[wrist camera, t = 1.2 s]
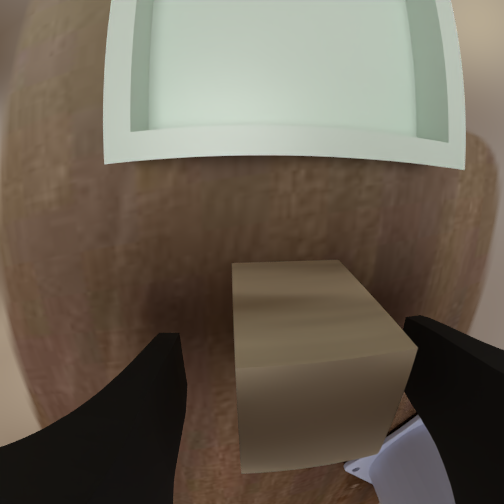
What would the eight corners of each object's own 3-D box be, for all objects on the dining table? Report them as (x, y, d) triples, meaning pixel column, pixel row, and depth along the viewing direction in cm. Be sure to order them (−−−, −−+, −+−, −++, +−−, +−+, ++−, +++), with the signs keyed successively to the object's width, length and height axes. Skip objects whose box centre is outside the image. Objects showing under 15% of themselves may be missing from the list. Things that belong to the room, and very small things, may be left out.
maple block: (328, 347, 13) (378, 453, 7) (235, 353, 13) (241, 473, 7) (337, 259, 12) (418, 347, 6) (231, 262, 12) (235, 368, 6)
